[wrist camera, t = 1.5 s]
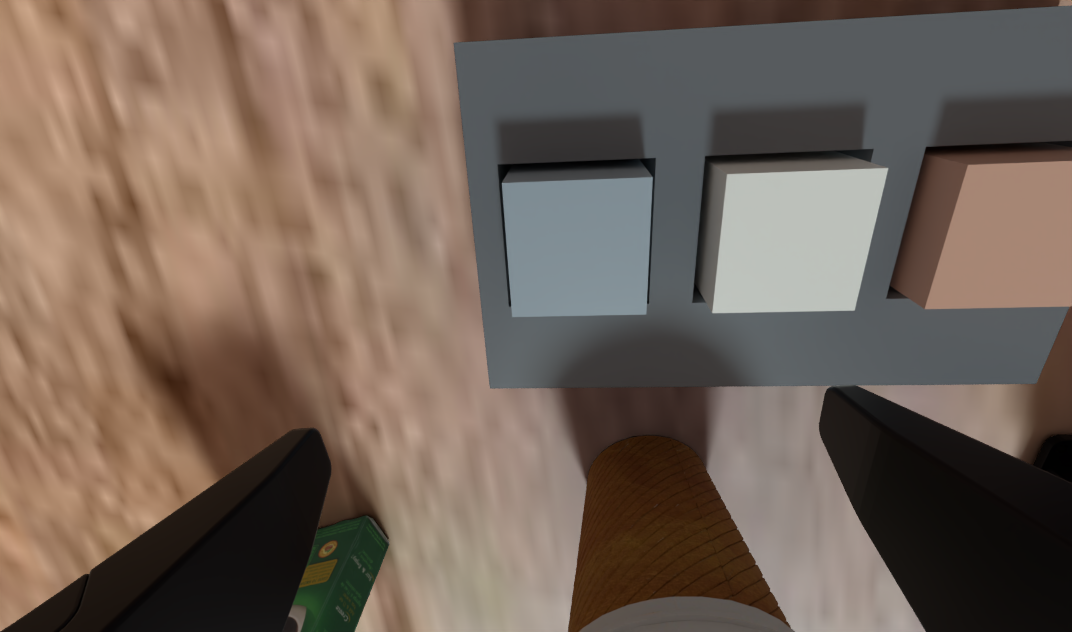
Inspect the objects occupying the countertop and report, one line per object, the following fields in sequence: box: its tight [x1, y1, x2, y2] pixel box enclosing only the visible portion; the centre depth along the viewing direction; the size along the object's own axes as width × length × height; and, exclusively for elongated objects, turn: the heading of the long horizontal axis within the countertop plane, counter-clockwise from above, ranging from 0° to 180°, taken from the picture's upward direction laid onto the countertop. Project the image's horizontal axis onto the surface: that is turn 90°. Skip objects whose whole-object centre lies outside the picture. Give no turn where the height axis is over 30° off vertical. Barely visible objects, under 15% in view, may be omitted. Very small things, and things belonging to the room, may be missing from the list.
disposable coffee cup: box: [568, 436, 795, 632], centre depth 22 cm, size 10×10×12 cm
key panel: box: [454, 6, 1072, 388], centre depth 19 cm, size 20×12×4 cm, turn 93°
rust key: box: [890, 142, 1072, 309], centre depth 17 cm, size 4×4×4 cm
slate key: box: [502, 159, 653, 317], centre depth 18 cm, size 4×4×4 cm
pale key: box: [694, 151, 888, 313], centre depth 17 cm, size 4×4×4 cm
